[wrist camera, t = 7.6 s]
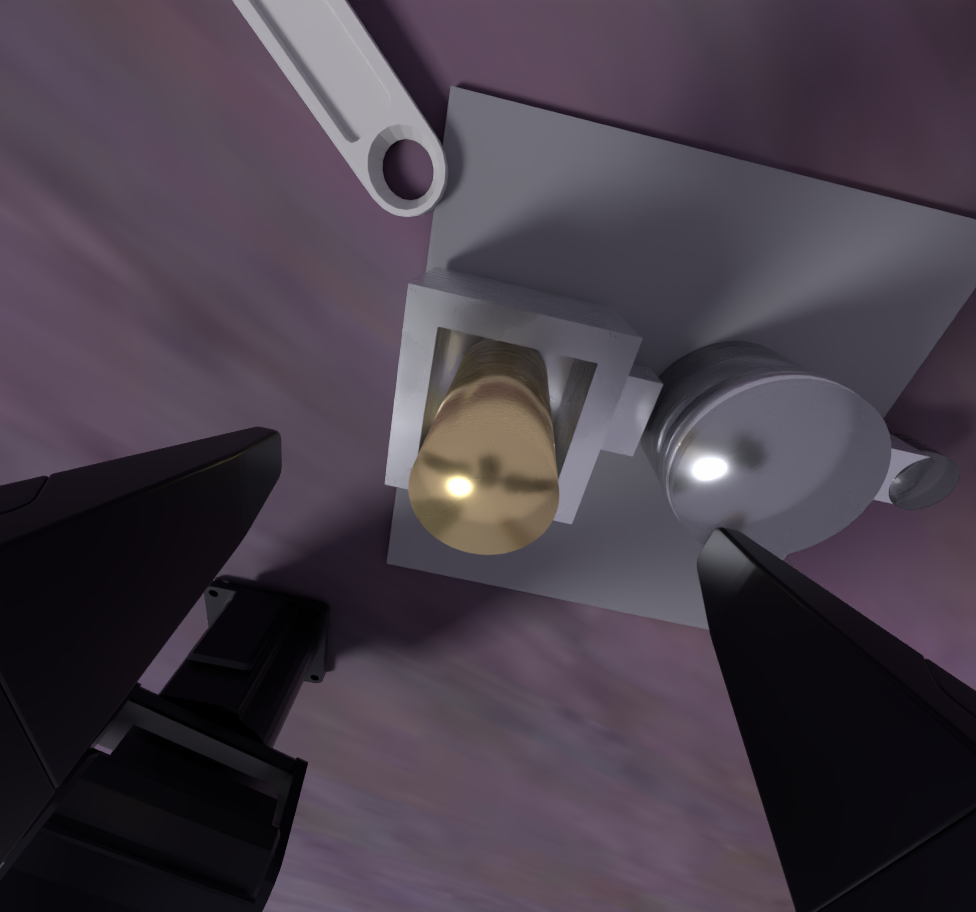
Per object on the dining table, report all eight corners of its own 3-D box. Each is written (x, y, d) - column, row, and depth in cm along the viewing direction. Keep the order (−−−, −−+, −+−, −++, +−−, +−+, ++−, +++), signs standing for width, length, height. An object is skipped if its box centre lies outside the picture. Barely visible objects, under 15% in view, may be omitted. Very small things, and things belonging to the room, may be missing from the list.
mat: (729, 629, 23) (731, 634, 23) (387, 559, 22) (386, 563, 22) (1007, 229, 14) (1016, 229, 14) (452, 88, 13) (450, 85, 13)
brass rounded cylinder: (534, 428, 17) (537, 567, 10) (451, 410, 17) (400, 537, 10) (558, 346, 15) (579, 447, 9) (467, 325, 15) (418, 411, 9)
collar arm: (970, 392, 16) (1110, 447, 12) (865, 527, 19) (950, 605, 15) (436, 266, 15) (408, 283, 11) (412, 428, 18) (384, 484, 14)
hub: (749, 493, 19) (817, 575, 15) (613, 463, 19) (641, 537, 15) (830, 358, 16) (943, 410, 12) (671, 320, 16) (727, 360, 12)
